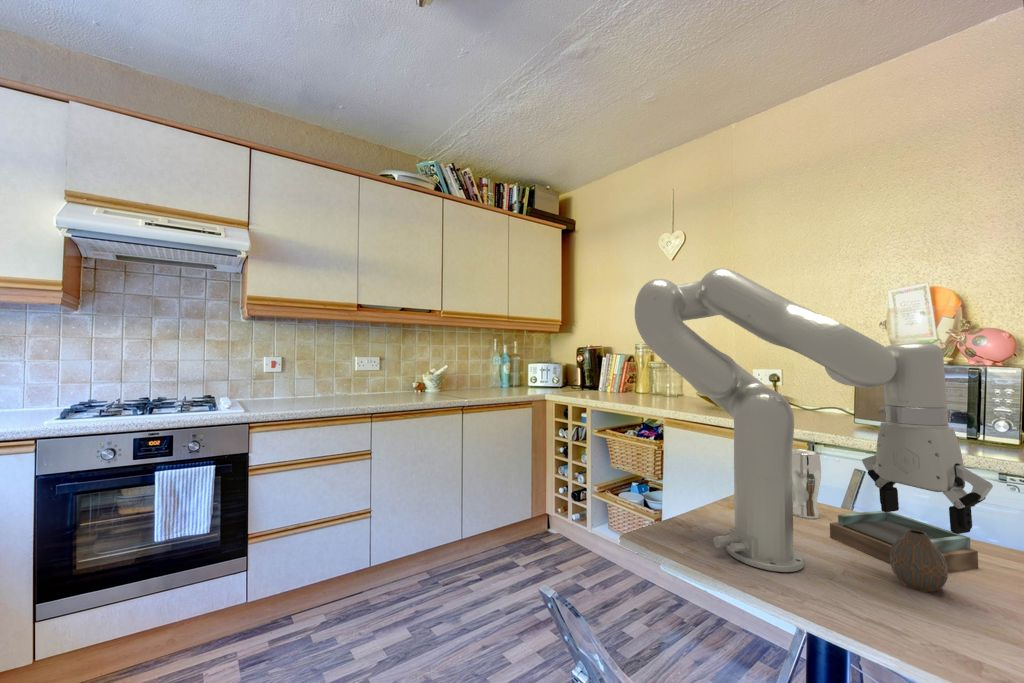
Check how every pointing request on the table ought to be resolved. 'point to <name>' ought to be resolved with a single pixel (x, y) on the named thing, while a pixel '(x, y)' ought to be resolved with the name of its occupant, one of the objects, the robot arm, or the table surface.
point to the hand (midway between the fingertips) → (923, 520)
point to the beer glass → (806, 482)
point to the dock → (885, 528)
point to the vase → (918, 562)
